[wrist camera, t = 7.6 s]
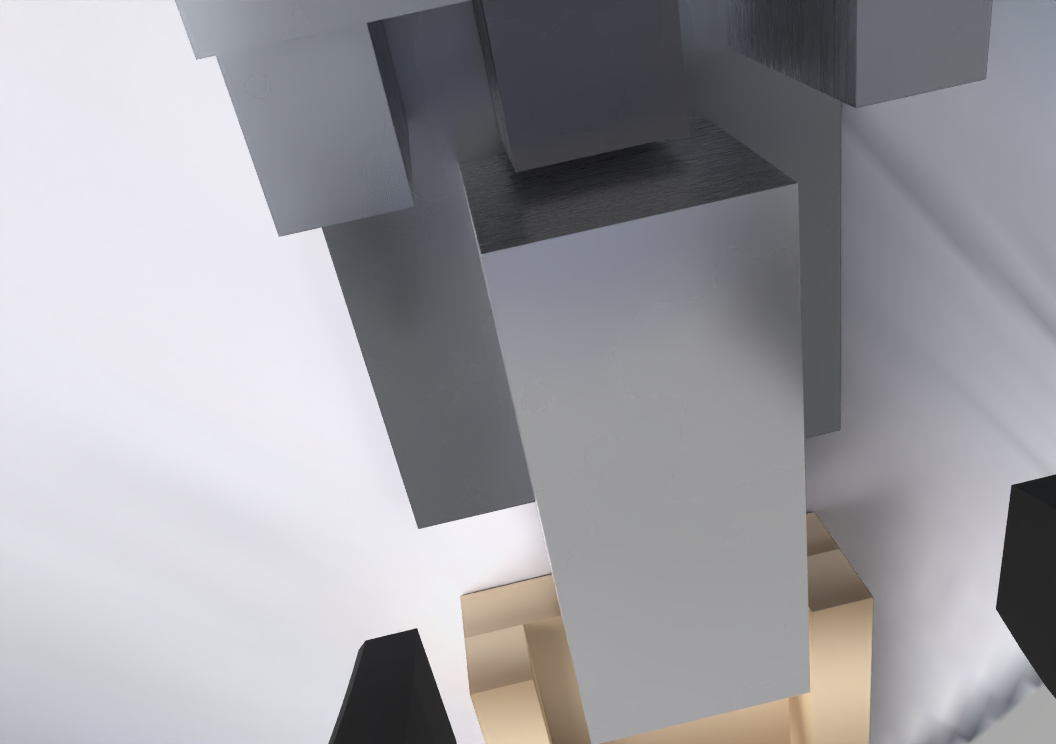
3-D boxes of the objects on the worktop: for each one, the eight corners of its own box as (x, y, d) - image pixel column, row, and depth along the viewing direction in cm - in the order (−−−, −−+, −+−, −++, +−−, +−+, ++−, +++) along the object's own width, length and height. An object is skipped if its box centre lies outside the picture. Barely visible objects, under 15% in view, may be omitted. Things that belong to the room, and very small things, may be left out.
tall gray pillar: (459, 164, 13) (481, 254, 10) (698, 111, 13) (797, 183, 10) (554, 587, 18) (591, 745, 15) (733, 545, 18) (810, 692, 15)
